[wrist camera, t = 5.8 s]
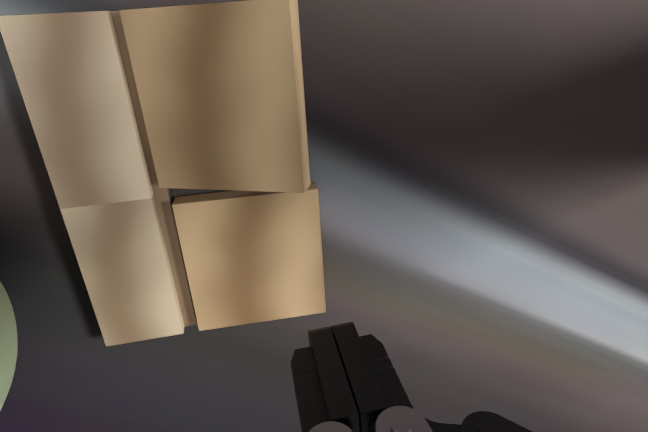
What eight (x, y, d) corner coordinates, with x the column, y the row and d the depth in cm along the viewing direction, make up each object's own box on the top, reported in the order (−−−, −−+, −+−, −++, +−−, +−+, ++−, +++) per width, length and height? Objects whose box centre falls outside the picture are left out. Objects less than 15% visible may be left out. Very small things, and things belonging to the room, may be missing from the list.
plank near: (297, -2, 18) (289, -3, 17) (310, 184, 22) (304, 193, 21) (135, 10, 20) (119, 10, 19) (171, 180, 24) (159, 187, 23)
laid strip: (130, 10, 20) (124, 9, 19) (197, 319, 27) (195, 331, 26) (8, 17, 19) (-5, 16, 18) (111, 333, 27) (106, 346, 26)
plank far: (315, 181, 25) (318, 189, 24) (322, 301, 29) (326, 312, 27) (175, 196, 24) (171, 204, 23) (201, 319, 28) (199, 330, 26)
